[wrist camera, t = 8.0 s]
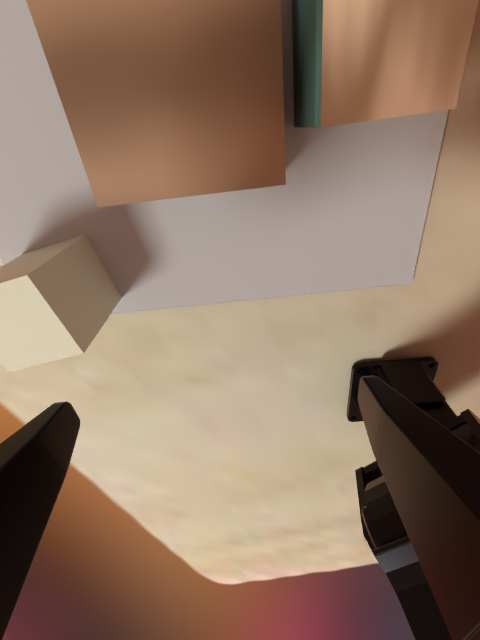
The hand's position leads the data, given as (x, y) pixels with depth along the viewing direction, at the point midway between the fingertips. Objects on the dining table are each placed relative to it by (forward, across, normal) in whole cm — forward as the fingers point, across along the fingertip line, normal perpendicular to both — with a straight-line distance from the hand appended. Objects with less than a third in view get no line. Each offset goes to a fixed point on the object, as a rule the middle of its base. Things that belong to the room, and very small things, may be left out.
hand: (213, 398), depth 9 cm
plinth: (+12, +1, -9) cm, 15 cm away
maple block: (+9, -4, -9) cm, 14 cm away
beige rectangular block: (+12, +10, 0) cm, 15 cm away
